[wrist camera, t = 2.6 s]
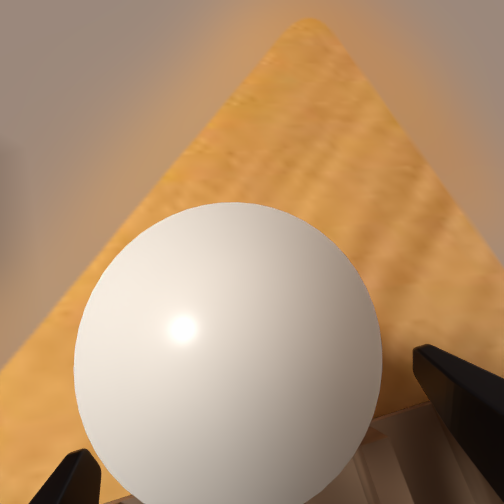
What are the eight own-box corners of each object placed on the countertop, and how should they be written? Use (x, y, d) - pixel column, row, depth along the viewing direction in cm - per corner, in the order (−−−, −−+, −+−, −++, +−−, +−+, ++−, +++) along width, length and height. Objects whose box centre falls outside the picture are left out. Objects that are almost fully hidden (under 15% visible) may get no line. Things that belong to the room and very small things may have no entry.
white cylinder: (318, 353, 17) (443, 321, 5) (259, 430, 16) (235, 629, 4) (250, 295, 19) (219, 157, 6) (191, 362, 17) (13, 352, 5)
